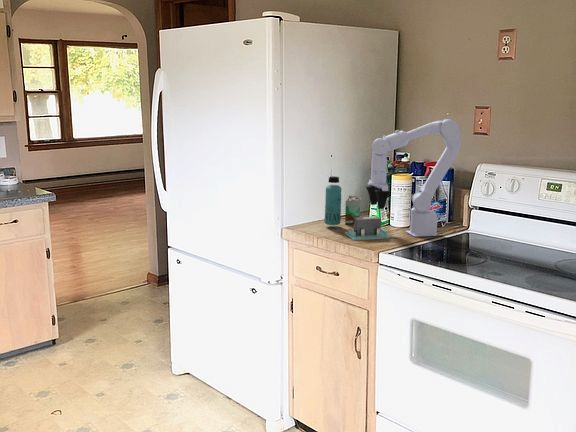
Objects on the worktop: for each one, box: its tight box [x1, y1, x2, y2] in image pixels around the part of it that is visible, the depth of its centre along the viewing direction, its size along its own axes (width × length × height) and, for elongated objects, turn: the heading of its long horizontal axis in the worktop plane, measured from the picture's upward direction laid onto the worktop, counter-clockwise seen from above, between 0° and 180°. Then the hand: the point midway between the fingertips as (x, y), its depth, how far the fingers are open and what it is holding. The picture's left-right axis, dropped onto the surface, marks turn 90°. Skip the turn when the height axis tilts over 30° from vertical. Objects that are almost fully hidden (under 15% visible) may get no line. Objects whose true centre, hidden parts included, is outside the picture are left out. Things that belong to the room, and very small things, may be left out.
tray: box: [344, 227, 391, 241], centre depth 227 cm, size 14×10×3 cm
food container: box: [344, 195, 363, 226], centre depth 248 cm, size 12×6×10 cm, turn 168°
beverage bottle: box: [324, 175, 342, 226], centre depth 238 cm, size 6×7×20 cm
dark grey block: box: [353, 216, 382, 236], centre depth 226 cm, size 9×4×6 cm, turn 104°
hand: (377, 206), depth 231 cm, fingers open, 7 cm apart
